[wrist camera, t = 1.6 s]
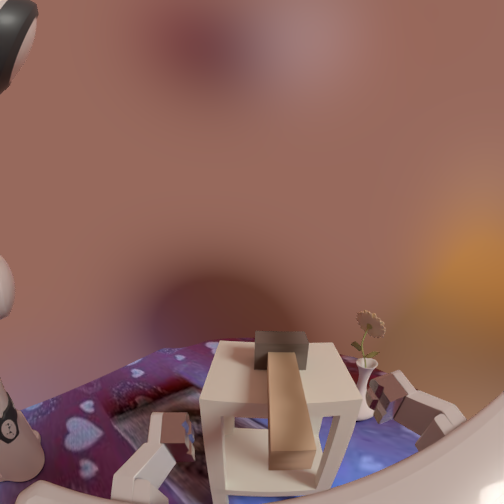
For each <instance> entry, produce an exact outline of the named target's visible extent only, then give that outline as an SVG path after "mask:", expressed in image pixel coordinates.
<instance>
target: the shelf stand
mask: <svg viewBox="0 0 504 504" xmlns="http://www.w3.org/2000/svg"><path fill="white" fill-rule="evenodd" d="M254 353H255V342H234V341H220V342H219V345H218V348H217V350H216V353H215V356H214V359H213V362H212V364H211V367H210V370H209V373H208V376H207V379H206V381H205V384H204V387H203V390H202V393H201V395H200V398H199V402H200V413H201V422H202V431H203V440H204V448H205V455H206V463H207V469H208V476H209V483H210V489H211V495H212V500H213V504H229V501H228V495H238V496H264V497H274V496H300V495H309V494H313V493H317V492H321V491H324V490H328V489H330V488H331V485H332V483H333V481H334V479H335V476H336V474H337V472H338V469H339V467H340V464H341V462H342V460H343V457H344V454H345V452H346V449H347V446H348V444H349V441H350V438H351V435H352V432H353V429H354V426H355V423H356V420H357V417H358V414H359V411H360V407H361V404H362V401H363V398H362V396H361V394H360V392H359V390H358V388H357V387H356V385H355V383H354V381H353V379H352V377H351V375H350V374H349V372H348V370H347V368H346V366H345V364H344V363H343V361H342V359H341V357H340V355H339V353H338V352H337V350H336V348H335V346H334V344H333V343H309V349H308V357H307V365H306V370H299V372H300V377H301V381H302V385H303V390H304V394H305V399H306V403H307V408H308V412H309V417H310V421H311V426H312V430H313V435H314V440H315V444H316V449H317V450H316V454H315V457H314V460H313V464H312V467H311V469H303V470H268V429H246V428H234V417H243V418H268V394H267V370H254ZM328 416H333V420H332V424H331V428H330V431H329V435H328V438H327V442H326V445H325V449H324V452H323V453H322V449H321V445H320V440H319V436H318V435H319V431H320V427H321V422H322V418H323V417H328Z"/></svg>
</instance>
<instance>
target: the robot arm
mask: <svg viewBox="0 0 504 504" xmlns="http://www.w3.org/2000/svg"><path fill="white" fill-rule="evenodd" d="M37 16H38V9H37V5H36V4H35V3H34V2H32V1H30V0H0V94H1V93H2V92H3V91H4V90H6V89H7V88H8V87H9V85H10V83H11V81H12V80H13V78H14V77H15V76H16V74H17V73H18V72H19V70H20V69H21V67H22V65H23V64H24V62H25V60H26V58H27V56H28V54H29V52H30V50H31V47H32V44H33V41H34V37H35V33H36V24H37V22H36V19H37ZM14 299H15V283H14V278H13V274H12V272H11V269H10V267H9V265H8V264H7V262H6V261H5V259H4V258H3V257H2V256H1V255H0V319H2V318H5V317H7V316H8V315H9V314H10V312H11V310H12V307H13V303H14ZM369 385H370V388H369V389H368V390H367V392H366V395H365V397H366V403H367V405H368V407H369V408H370V409H372V410H374V412H373V415H374V417H375V419H376V421H377V422H378V424H381V423H384V422H386V421H389V420H392V419H393V420H395V421H397V422H398V423H400V424H402V425H403V426H405V427H407V428H408V429H410V430H412V431H413V432H415V433H417V434H419V435H420V436H421V437H420V438H419V439H418V440H417V442H416V444H415V446H416V447H417V449H418V451H419V452H417V453H415V454H413V455H411V456H410V457H408V458H406V459H404V460H402V461H400V462H398V463H395V464H393V465H391V466H389V467H387V468H385V469H382V470H380V471H378V472H375V473H373V474H371V475H368V476H366V477H363V478H360V479H358V480H355V481H352V482H349V483H346V484H344V485H340V486H337V487H334V488H331V489H328V490H324V491H321V492H317V493H313V494H309V495H305V496H301V497H297V498H292V499H287V500H282V501H277V502H271V503H264V504H504V391H503V392H502V393H501V394H500V395H498V396H497V397H496V398H495V399H494V400H493V401H492V402H490V403H489V404H488V405H487V406H485V407H484V408H483V409H482V410H481V411H479V412H478V413H477V414H475V415H474V416H473V417H472V418H470V419H469V420H467V419H466V418H465V417H464V415H463V414H462V413H461V412H460V410H459V409H458V408H457V406H456V405H455V404H452V403H450V402H447V401H444V400H442V399H439V398H437V397H434V396H432V395H429V394H427V393H424V392H422V391H420V390H418V391H416V390H415V388H414V387H413V386H412V384H411V383H410V382H409V381H408V379H407V378H406V377H405V376H404V374H403V373H402V372H401V371H400V370H397V371H394V372H392V373H388V374H385V375H382V376H380V377H377V378H374V379H372V380H371V381H370V383H369ZM40 442H41V436H40V434H39V433H38V432H37V431H35V430H32V429H31V427H30V425H29V424H28V422H27V420H26V419H25V417H24V415H23V414H22V412H21V411H19V410H16V409H15V407H14V403H13V401H12V399H11V398H10V396H9V394H8V393H7V392H6V391H5V389H4V386H3V384H2V381H1V378H0V482H2V481H14V482H23V481H27V480H30V479H32V478H34V477H35V476H36V475H37V474H38V473H39V472H40V471H41V469H42V468H43V465H44V461H45V456H44V451H43V449H42V447H41V444H40ZM193 442H194V429H193V425H192V422H190V421H189V415H188V413H187V412H152V414H151V417H150V425H149V433H148V442H147V443H144V444H143V445H142V446H141V447H140V448H139V449H138V450H137V451H136V452H135V453H134V454H133V455H132V456H131V457H130V458H129V460H128V461H127V462H126V463H125V464H124V465H123V466H122V467H121V468H120V469H119V470H118V471H117V472H116V473H115V474H114V476H113V484H112V491H111V500H110V499H105V498H101V497H96V496H92V495H88V494H85V493H81V492H77V491H74V490H71V489H68V488H65V487H62V486H59V485H56V484H53V483H50V482H48V481H44V480H39V481H37V482H35V483H33V484H32V485H30V486H29V487H27V488H26V489H25V490H23V491H22V492H20V493H19V495H18V497H17V499H16V502H15V504H168V498H167V497H166V496H164V495H163V494H162V493H161V492H160V491H159V490H158V488H159V487H160V485H161V484H162V483H163V481H164V480H165V478H166V477H167V475H168V474H169V472H170V471H171V470H172V468H173V467H174V465H175V464H176V462H191V461H195V449H194V447H193V444H192V443H193Z"/></svg>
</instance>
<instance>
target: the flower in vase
mask: <svg viewBox="0 0 504 504" xmlns="http://www.w3.org/2000/svg"><path fill="white" fill-rule="evenodd" d="M357 314H358V315H357V318H356V320H357V321H358V322H359V325H360V326H361V328H362V329H363V330H364V331H365V334H364V337H363V340H362V343H361V346H360V345H359V344H358V343H357V342H353V343H352V344H351V345H352V346H354V347H355V348H356V349H358V350H359V351H361V350H362V354H363V357H364V358H360V359H358V360H357V361H356V364H357V366H358V368H359V379H358V383H357V386H356V387H357V388H358V390H359V392H360V394H361V396H362V398H363V401H362V404H361V407H360V411H359V414H358V417H357V420H356V421H361V420H366V419H369V418H371V417H372V416H374V415H373V412H374V410H372V409H370V408H369V407H368V405H367V403H366V397H365V395H366V392H367V389H366V386H367V382H368V379H369V376H370V374H371V372H372V371H373V369H374V368H376V367H377V365H378V363H377V361H376V360H374V359H371V357H374V356H375V355H377V354H378V353H379V352H371V353H369V354H367V355H366V356H365V355H364V352H363V341H364V338H365V336H366V333H368V334H369V335H370V336H373V337H377V338H379V337H383V335H384V333H385V332H386V331H385V329H386V328H385V327H383V325H384V322H382V321H381V319H380V318H377V317H376V314H375V313H373V314H371V313H370V312H369V311H366V310H364V312H361V311H360V313H357Z"/></svg>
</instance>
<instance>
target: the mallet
mask: <svg viewBox="0 0 504 504" xmlns="http://www.w3.org/2000/svg"><path fill="white" fill-rule="evenodd" d="M308 349H309V342H308V339H307V337H306V334H305V332H277V331H256V334H255V353H254V370H267V394H268V470H303V469H311V467H312V464H313V460H314V457H315V454H316V450H317V449H316V444H315V440H314V435H313V430H312V426H311V421H310V417H309V412H308V408H307V403H306V399H305V394H304V390H303V385H302V381H301V377H300V372H299V370H306V365H307V357H308Z"/></svg>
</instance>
